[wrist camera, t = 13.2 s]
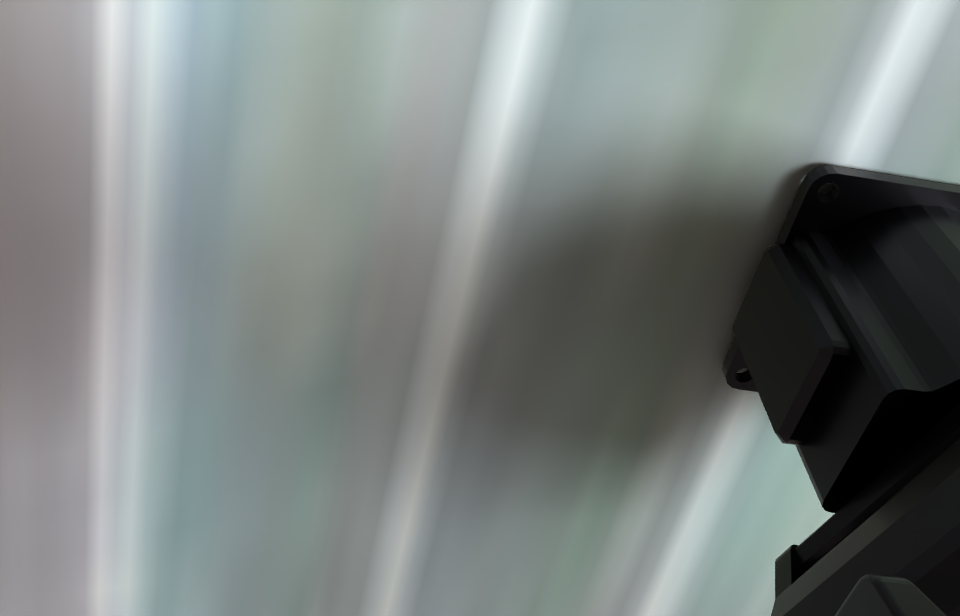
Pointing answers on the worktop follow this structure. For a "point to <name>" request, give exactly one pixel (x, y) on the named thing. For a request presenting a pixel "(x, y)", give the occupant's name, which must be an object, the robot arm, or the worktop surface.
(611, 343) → the worktop surface
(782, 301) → the robot arm
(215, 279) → the worktop surface
